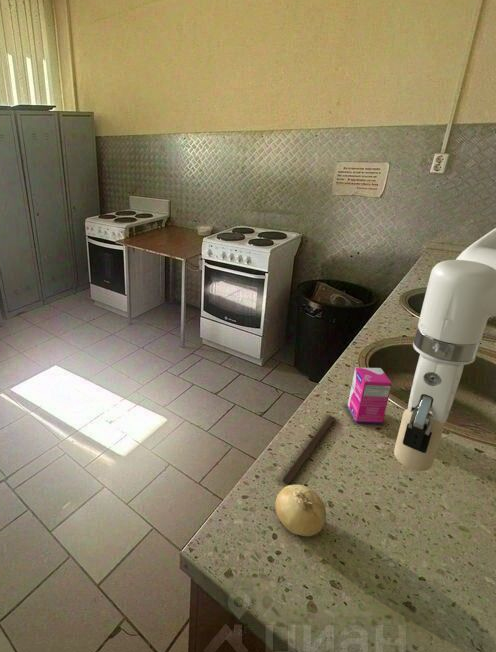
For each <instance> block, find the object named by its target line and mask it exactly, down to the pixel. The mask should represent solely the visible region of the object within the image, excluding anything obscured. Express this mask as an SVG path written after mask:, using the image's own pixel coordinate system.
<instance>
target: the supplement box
mask: <svg viewBox="0 0 496 652" xmlns="http://www.w3.org/2000/svg"><path fill="white" fill-rule="evenodd" d="M392 386H393V383H392V381H391V379H389V377H388V376H387V374H386V373H385V372H384V370H383V369H382V368H381V367H357V366H356V367H354V373H353V376H352V382H351V387H350V391H349V395H348V396H349V397H348V402H347V408H348V410H349V411H350V413H351V415H352V417H353V419H354V421H355V423H357V424H369V425H370V424H371V425H383V422H384V418H385V413H386V410H387V407H388V401H389V397H390V393H391V390H392Z"/></svg>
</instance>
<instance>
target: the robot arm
mask: <svg viewBox="0 0 496 652" xmlns="http://www.w3.org/2000/svg"><path fill="white" fill-rule="evenodd" d="M493 317H494V318H496V227H495V228H493V229H492V230H491V231H489V232H487V233H486V234H484V235H483V236H481V237H480V238H479V239H477V240H476V241H474V242H473V243H472V244H470V245H469V246H468V247H467V248H465V249H464V250H463V251H462V252H461V253H459V255H457V257H456V259H447V260H443V261H440V262H438V263H436V264H435V265H434V266H433V268H432V269H431V271H430V275H429V279H428V281H427V287H426V291H425V294H424V299H423V302H422V307H421V311H420V315H419V318H418V323H417V327H416V331H415V335H414V338H413V343H412V347H413V349H414V351H416V352H417V353H418V354H419V356H418V361H417V364H416V368H415V372H414V376H413V380H412V385H411V389H410V393H409V399H408V403H407V404H408V405H407V409H409V411H410V412H412V411H413V412H412V415H411V419H410V422H409V423H408V424H407V428H406V431H405V435H404V439H403V444H404V445H405V446H408V447H410V448H413V449H415V450H417V451H420V452H422V453H426V451H427V448H428V445H429V441H430V438H431V435H432V432H430V430H431V427H432V424H433V421H434V420H435V421H437V422H440V423H444V424H445V423H446V422H447V420H448V417H449V415H450V412H451V409H452V406H453V404H454V401H455V397H456V394H457V391H458V388H459V384H460V381H461V378H462V374H463V371H464V367H465V366H466V365H467V366H468V365H470V364H473V363H474V362H475V361H476V357H477V354H478V351H479V348H480V345H481V342H482V339H483V335H484V333H485V330H486V328H487V327H486V326H487V324H488V320H489V318H493ZM418 407H419V409H417V408H418ZM429 411H432V414H429V413H428V412H429ZM426 418H427V419H429V422H428V425H427V424H425V421H426Z"/></svg>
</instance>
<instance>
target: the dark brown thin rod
mask: <svg viewBox="0 0 496 652" xmlns="http://www.w3.org/2000/svg"><path fill="white" fill-rule="evenodd" d="M335 420H336V418H335V417H334V416H332V415H329V416H328V417H327V419H326V420H325V421H324V423H323V424H322V426H321V427H320V428H319V429H318V431H317V432H316V434H315V435H314V436H313V438H312V439H311V441H310V442H309V443H308V445H307V446H306V447H305V448H304V450H303V451H302V452H301V454H300V456H298V458H297V459H296V460H295V462H294V463H293V464H292V466H291V468H290V469H289V470H288V472H287V473H286V474H285V476H284V477H283V478H282V482H283V483H285V484H287V486H289V485H290V484H291V482H292V480H293V479H294V478H295V477H296V475H297V474H298V473H299V471H300V470H301V468H302V467H303V465H304V464H305V463H306V462H307V460H308V458H310V455H311V454H312V452H313V451H314V450H315V448H316V447H317V446H318V445H319V442H320V441H321V440H322V438H323V437H324V436H325V434H326V433H327V431H328V430H329V429H330V427H331V426H332V425H333V423H334V422H335Z"/></svg>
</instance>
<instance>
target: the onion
mask: <svg viewBox="0 0 496 652" xmlns="http://www.w3.org/2000/svg"><path fill="white" fill-rule="evenodd" d="M274 507H275V512H276V514H277V518H278V519H279V521H280V522H281V523H282V525H283V526H284V527H285V528H286V529H287V530H288V531H289V532H290V533H292V534H294V535H297V536H302V537H312V536H315V535H317V534H318V533H320V531H322V529H323V527H324V526H325V524H326V517H327V509H326V506H325V504H324V501H323V500H322V498H321V497H320V496H319V494H318V493H317V492H316V491H315V490H313V489H312V488H311V487H308V486H305V485H302V484H289V485H286V486H284V487H283V488H282V489H281V490H279V493H278V494H277V496H276V499H275V505H274Z"/></svg>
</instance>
